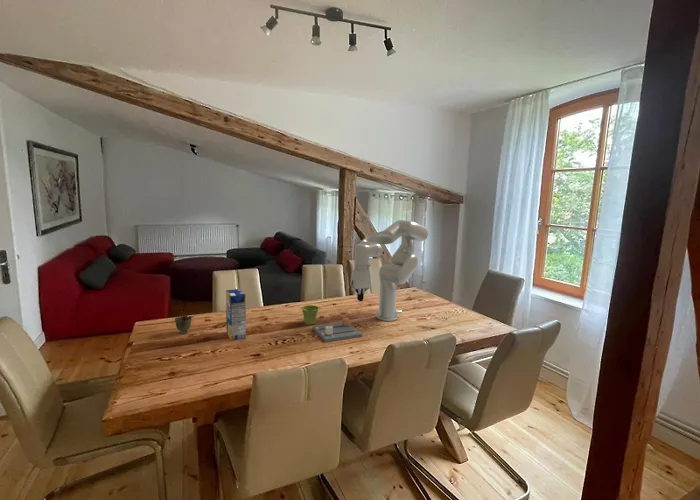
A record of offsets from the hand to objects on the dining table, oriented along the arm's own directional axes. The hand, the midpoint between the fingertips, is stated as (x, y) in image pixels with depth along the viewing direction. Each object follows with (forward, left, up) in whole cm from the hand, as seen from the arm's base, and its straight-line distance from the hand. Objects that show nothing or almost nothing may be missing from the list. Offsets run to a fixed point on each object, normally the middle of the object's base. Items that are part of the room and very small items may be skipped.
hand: (360, 300), depth 199 cm
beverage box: (+63, -10, -15) cm, 66 cm away
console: (+15, +4, -15) cm, 21 cm away
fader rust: (+8, 0, -13) cm, 15 cm away
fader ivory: (+21, +8, -13) cm, 26 cm away
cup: (+86, -22, -15) cm, 90 cm away
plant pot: (+23, -14, -15) cm, 31 cm away
